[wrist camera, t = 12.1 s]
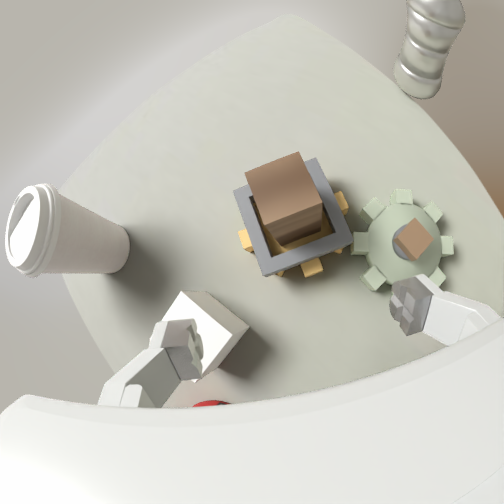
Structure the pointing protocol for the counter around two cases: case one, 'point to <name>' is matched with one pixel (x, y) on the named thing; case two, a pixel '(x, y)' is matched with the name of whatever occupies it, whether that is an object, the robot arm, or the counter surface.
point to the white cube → (208, 325)
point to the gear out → (302, 250)
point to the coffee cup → (61, 236)
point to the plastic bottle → (427, 45)
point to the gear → (401, 241)
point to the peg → (286, 198)
